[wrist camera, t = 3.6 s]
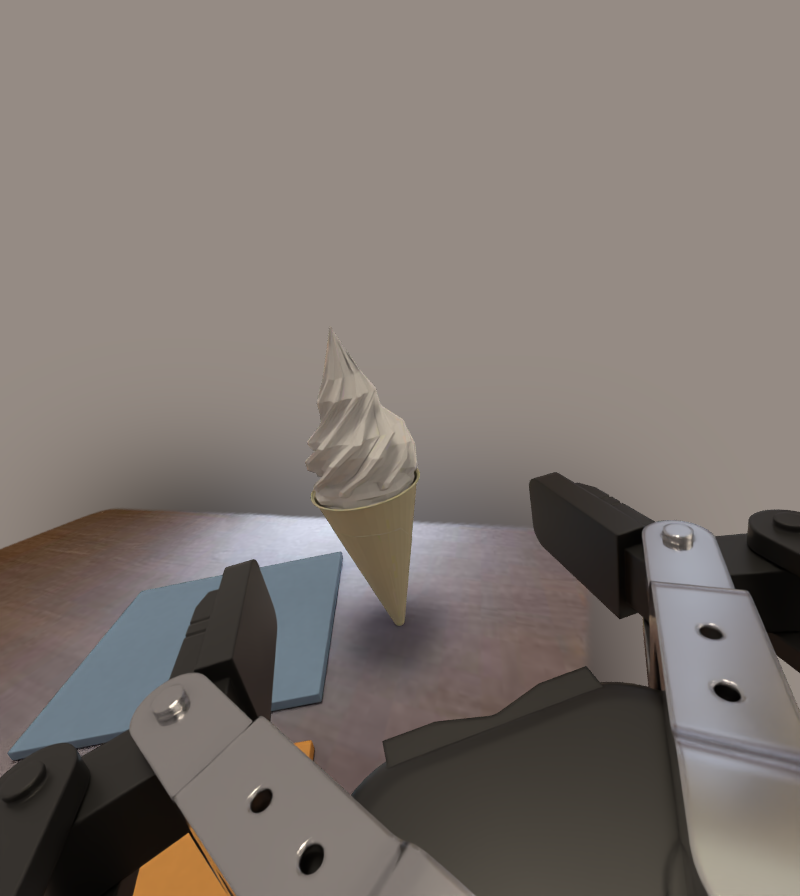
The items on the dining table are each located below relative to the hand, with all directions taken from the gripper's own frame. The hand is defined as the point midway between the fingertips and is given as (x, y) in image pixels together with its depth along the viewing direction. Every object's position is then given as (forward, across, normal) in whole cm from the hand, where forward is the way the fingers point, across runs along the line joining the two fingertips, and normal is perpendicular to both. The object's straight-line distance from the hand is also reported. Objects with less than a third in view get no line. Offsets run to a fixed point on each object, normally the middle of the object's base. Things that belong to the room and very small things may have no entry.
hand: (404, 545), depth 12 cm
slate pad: (+11, +10, +9) cm, 18 cm away
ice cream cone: (+7, 0, +9) cm, 12 cm away
